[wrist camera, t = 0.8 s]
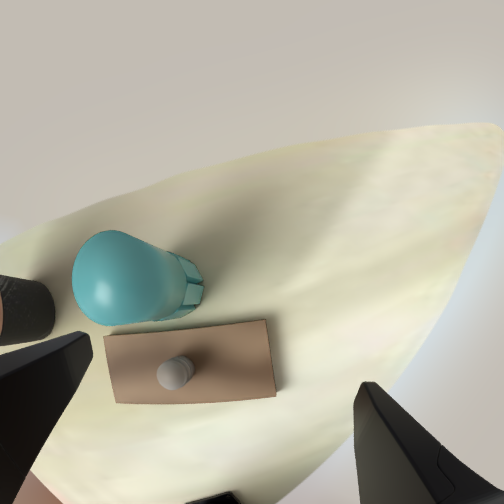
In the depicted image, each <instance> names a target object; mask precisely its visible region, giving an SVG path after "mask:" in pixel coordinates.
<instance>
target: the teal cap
mask: <svg viewBox="0 0 504 504" xmlns="http://www.w3.org/2000/svg"><path fill="white" fill-rule="evenodd" d="M201 281H203V279H202V277H201V275H200V273H199V271H198V270H197V268H196V266H195V264H193V263H190V260H187V259H185V258H183V257H181V256H178V255H176V254H174V253H171V252H167V251H164V250H162V249H160V248H157V247H155V246H153V245H150V244H148V243H146V242H144V241H141V240H139V239H137V238H135V237H132V236H130V235H128V234H126V233H123V232H120V231H115V230H109V231H104V232H100V233H98V234H96V235H94V236H93V237H91V238H90V239H89V240H88V241H87V242H86V243H85V244H84V245H83V246H82V248H81V249H80V251H79V253H78V254H77V257H76V259H75V262H74V266H73V271H72V287H73V293H74V296H75V299H76V301H77V304H78V306H79V307H80V309H81V310H82V312H83V313H84V314H85V315H86V316H87V317H88V318H89V319H91V320H92V321H94V322H96V323H98V324H101V325H105V326H116V325H124V324H131V323H139V322H146V321H164V320H170V319H176V318H181V317H183V316H185V315H186V314H188V313H190V312H191V311H193V310H195V309H196V308H195V307H194V305H193V304H200V300H201V296H202V292H203V289H204V286H201V285H198V283H199V282H201Z"/></svg>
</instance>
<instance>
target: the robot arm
mask: <svg viewBox="0 0 504 504" xmlns="http://www.w3.org/2000/svg"><path fill="white" fill-rule="evenodd" d="M92 358H93V350H92V345H91V340H90V336H89V335H88V334H87V333H84V332H81V331H76V332H73V333H70V334H67V335H64V336H60V337H57V338H54V339H51V340H48V341H44V342H41V343H38V344H35V345H32V346H28V347H25V348H22V349H18V350H15V351H12V352H9V353H5V354H2V355H0V504H12V503H13V501H14V499H15V497H16V495H17V493H18V492H19V490H20V488H21V486H22V484H23V482H24V480H25V477H26V476H27V474H28V472H29V470H30V469H31V467H32V465H33V463H34V461H35V459H36V458H37V456H38V454H39V452H40V451H41V449H42V447H43V445H44V444H45V442H46V440H47V438H48V437H49V435H50V433H51V432H52V430H53V428H54V426H55V425H56V423H57V422H58V420H59V418H60V417H61V415H62V413H63V412H64V410H65V408H66V407H67V405H68V404H69V402H70V400H71V399H72V397H73V396H74V394H75V392H76V390H77V388H78V387H79V385H80V383H81V380H82V378H83V376H84V374H85V372H86V370H87V368H88V366H89V365H90V363H91V361H92ZM353 410H354V449H355V458H356V467H357V475H358V485H359V494H360V504H504V491H502V490H500V489H498V488H496V487H495V486H493V485H492V484H490V483H489V482H488V481H486V480H485V479H484V478H482V477H481V476H479V475H478V474H476V473H475V472H474V471H473V470H471V469H470V468H469V467H467V466H466V465H465V464H463V463H462V462H461V461H459V459H457V458H456V457H455V456H454V455H453V454H452V453H451V452H449V451H448V450H447V449H446V448H445V447H444V446H443V445H441V443H440V442H439V441H437V440H436V439H435V438H434V437H433V436H432V435H431V434H430V433H429V432H428V431H426V430H425V428H424V427H422V426H421V425H420V424H419V423H418V422H417V421H416V420H415V419H414V418H413V417H412V416H411V415H409V413H408V412H406V411H405V410H404V409H403V408H402V407H401V406H400V405H399V404H398V403H397V402H396V401H395V400H394V399H393V398H392V397H391V396H390V395H388V394H387V393H386V392H385V391H384V390H383V389H382V388H381V387H380V386H379V385H378V384H377V383H376V382H366V381H365V382H362V384H361V385H360V388H359V390H358V393H357V395H356V398H355V400H354V406H353ZM227 496H230V497H227ZM186 504H241V503H240V502H239V501H238V500H237V498H236V497H235V496H234V495H233V494H232V493H231V492H225V493H222V494H219V495H215V496H212V497H209V498H205V499H201V500H198V501H194V502H190V503H186Z"/></svg>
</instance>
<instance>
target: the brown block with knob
mask: <svg viewBox="0 0 504 504" xmlns="http://www.w3.org/2000/svg"><path fill="white" fill-rule="evenodd" d="M103 338H104V345H105V351H106V357H107V363H108V368H109V373H110V378H111V383H112V388H113V392H114V397H115V401H116V403H125V404H196V403H215V402H229V401H241V400H251V399H260V398H268V397H276V387H275V380H274V373H273V366H272V360H271V353H270V346H269V340H268V333H267V326H266V319H263V320H256V321H249V322H242V323H234V324H226V325H218V326H210V327H201V328H192V329H182V330H172V331H161V332H150V333H137V334H123V335H108V336H103Z"/></svg>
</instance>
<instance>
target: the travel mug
mask: <svg viewBox="0 0 504 504" xmlns="http://www.w3.org/2000/svg"><path fill="white" fill-rule="evenodd" d="M54 320H55V307H54V302H53V299H52V296H51V294H50V292H49V290H48V289H47V288H46V287H45V286H44V285H43V284H41V283H39V282H36V281H31V280H26V279H20V278H15V277H9V276H4V275H0V346H6V345H13V344H19V343H26V342H32V341H38V340H42V339H44V338H46V337H47V336H48V335H49V334H50V332H51V330H52V328H53V325H54Z"/></svg>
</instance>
